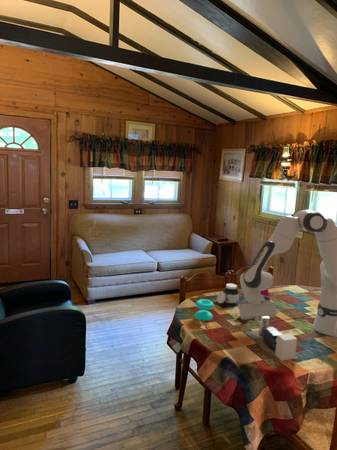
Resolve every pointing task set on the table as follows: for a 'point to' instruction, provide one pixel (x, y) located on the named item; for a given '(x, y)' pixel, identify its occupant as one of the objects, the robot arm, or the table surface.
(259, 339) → the base board
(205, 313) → the donuts
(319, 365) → the table surface
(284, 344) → the socket
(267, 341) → the sleeve
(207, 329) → the cell phone
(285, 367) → the table surface
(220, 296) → the spread jar
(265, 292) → the pepper mill
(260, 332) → the tube
